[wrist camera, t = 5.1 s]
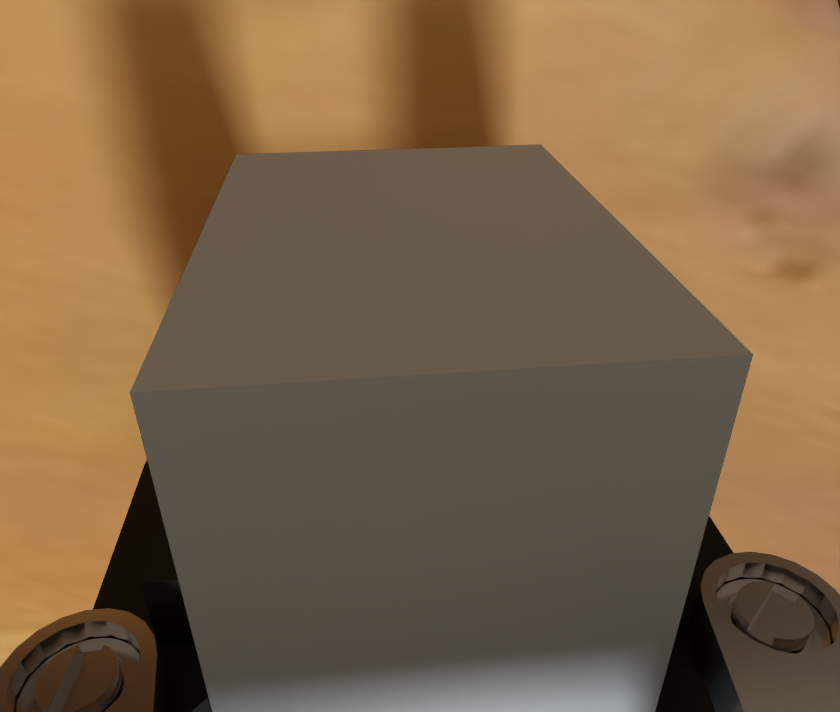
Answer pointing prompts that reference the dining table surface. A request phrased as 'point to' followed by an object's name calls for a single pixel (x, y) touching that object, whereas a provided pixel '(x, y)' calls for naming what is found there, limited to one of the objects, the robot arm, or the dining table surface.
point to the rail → (432, 437)
